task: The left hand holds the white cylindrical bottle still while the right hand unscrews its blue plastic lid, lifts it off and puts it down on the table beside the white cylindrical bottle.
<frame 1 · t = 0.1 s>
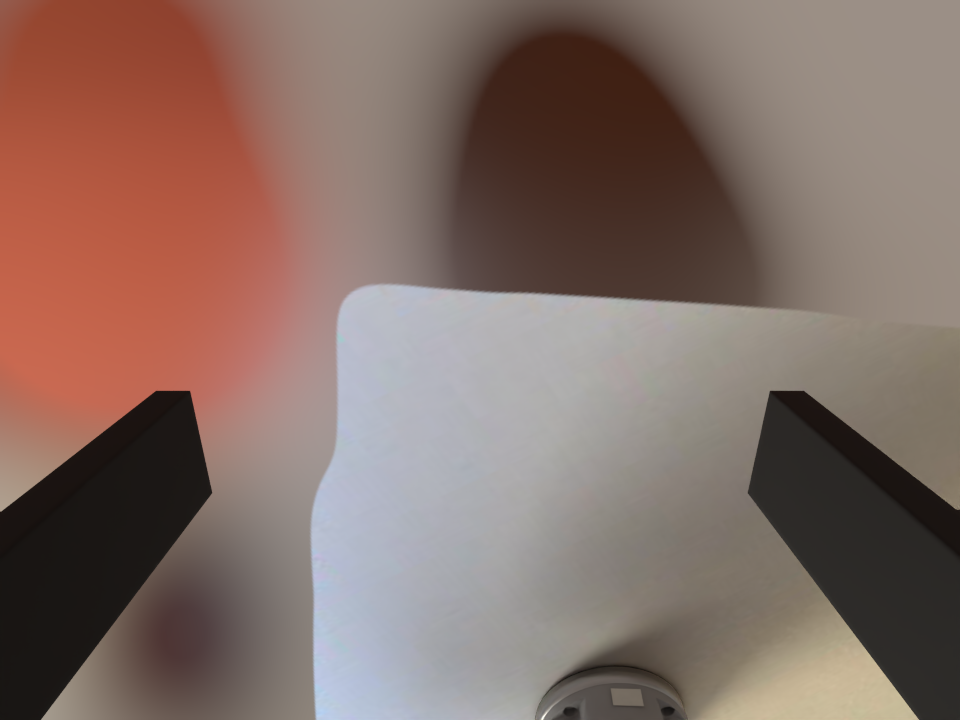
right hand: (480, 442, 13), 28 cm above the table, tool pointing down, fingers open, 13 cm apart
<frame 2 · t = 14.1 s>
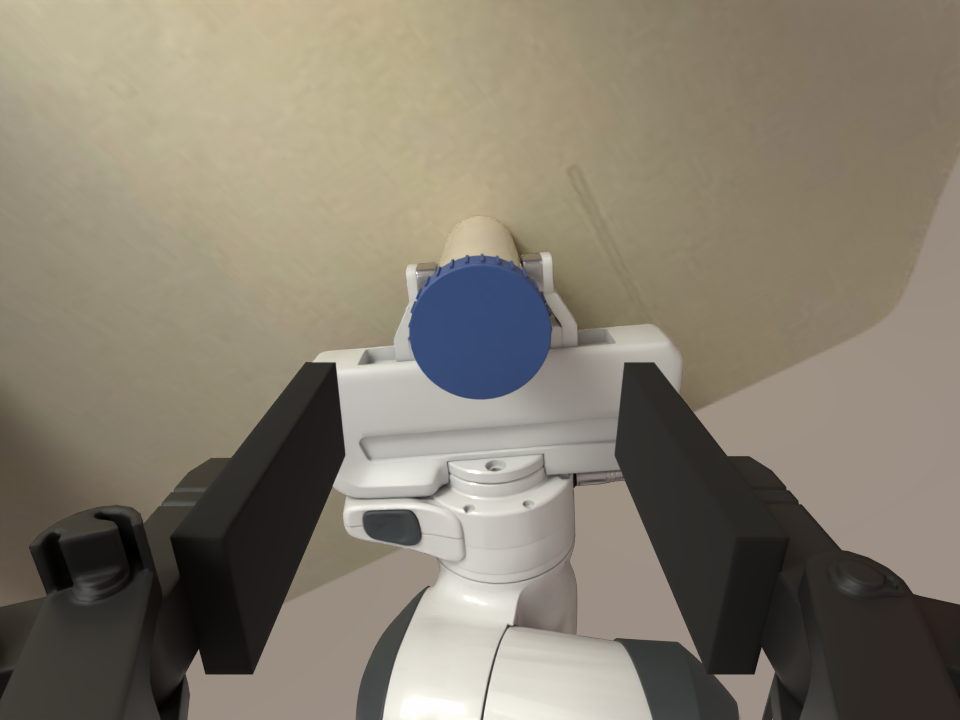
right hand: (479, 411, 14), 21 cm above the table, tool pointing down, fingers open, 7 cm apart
left hand: (477, 259, 28), fingers closed on white cylindrical bottle, 4 cm apart
white cylindrical bottle: (479, 252, 34), on the table, touching left hand
lid: (480, 332, 20), point 15 cm above the table, screwed on, not yet turned
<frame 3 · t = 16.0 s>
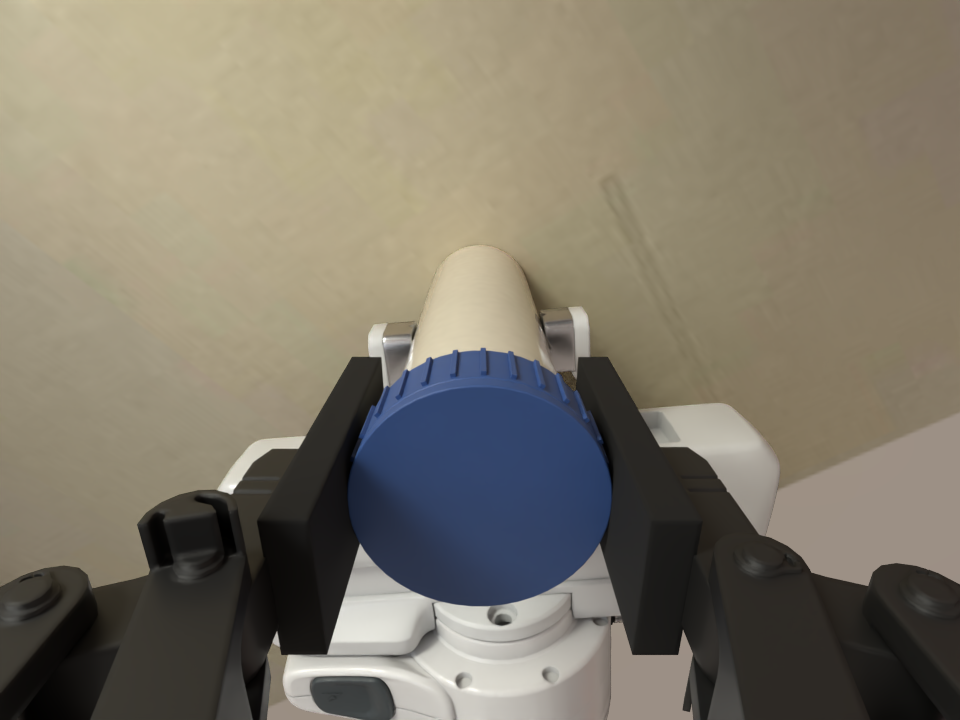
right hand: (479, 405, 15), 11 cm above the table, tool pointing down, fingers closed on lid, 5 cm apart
left hand: (476, 319, 18), fingers closed on white cylindrical bottle, 4 cm apart
white cylindrical bottle: (479, 293, 25), on the table, touching left hand
lid: (479, 495, 11), point 15 cm above the table, screwed on, not yet turned, touching right hand
when the right hand's fingers open (11 cm above the table, at t = 17.4 s): lid stays where it is, point 15 cm above the table.
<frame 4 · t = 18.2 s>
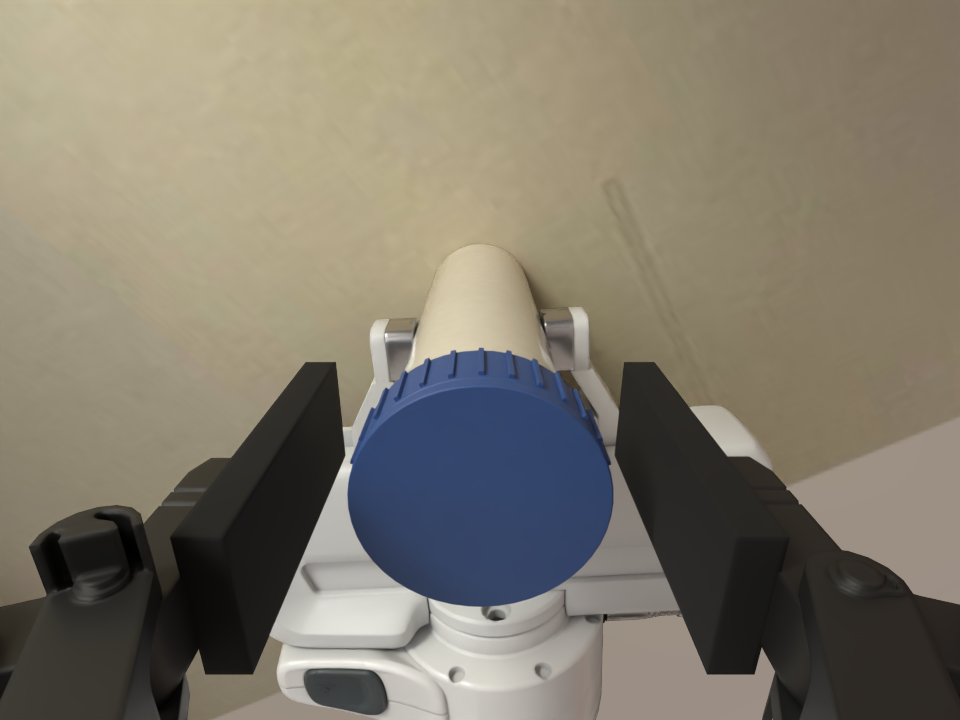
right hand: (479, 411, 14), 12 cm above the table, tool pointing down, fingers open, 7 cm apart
white cylindrical bottle: (480, 292, 25), on the table, touching left hand
lid: (480, 495, 11), point 15 cm above the table, turned 89° so far, risen 0.2 cm, still on its thread
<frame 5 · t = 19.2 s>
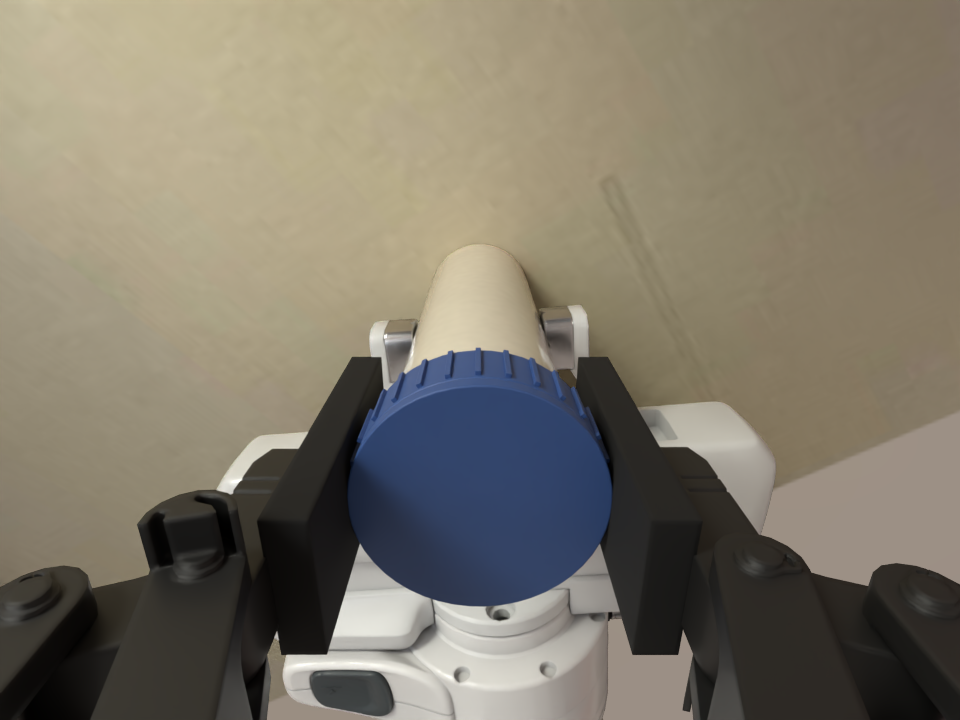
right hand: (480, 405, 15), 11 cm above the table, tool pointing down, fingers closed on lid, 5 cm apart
left hand: (476, 317, 19), fingers closed on white cylindrical bottle, 4 cm apart
white cylindrical bottle: (479, 292, 25), on the table, touching left hand
lid: (479, 495, 11), point 15 cm above the table, turned 89° so far, risen 0.2 cm, still on its thread, touching right hand
when the right hand's fingers open (0 cm above the table, at t = 26.1 s): lid drops 1 cm, point 1 cm above the table.
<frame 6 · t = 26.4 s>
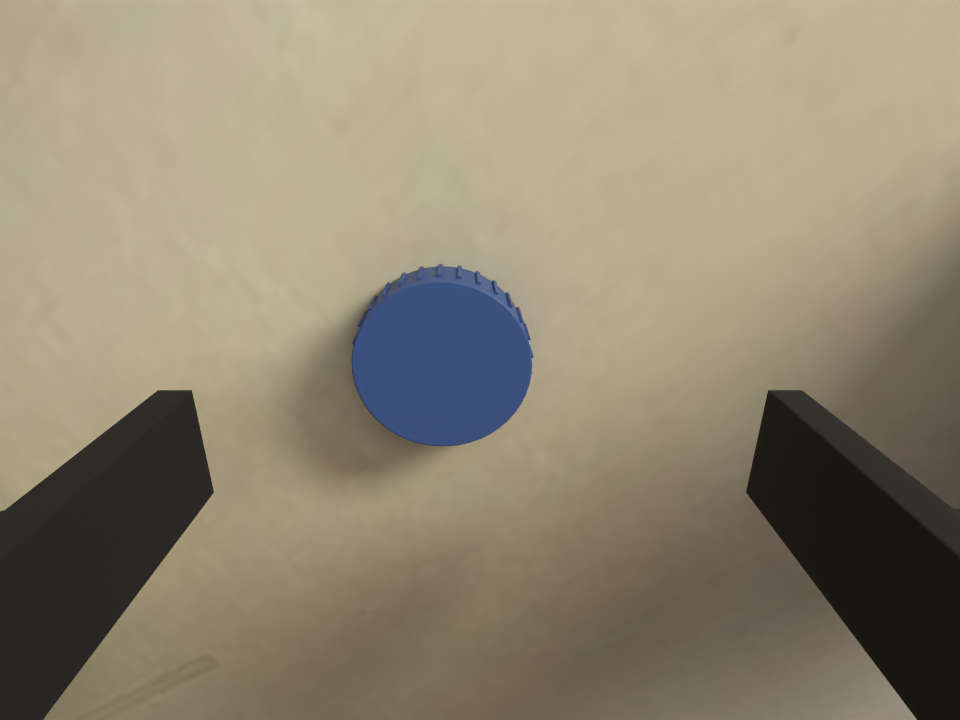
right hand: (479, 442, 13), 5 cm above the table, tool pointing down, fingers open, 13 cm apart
lid: (442, 364, 16), point 1 cm above the table, off its thread
when the left hand's fingers open (7 cm above the table, at t = 26.7 s): white cylindrical bottle stays where it is, on the table.
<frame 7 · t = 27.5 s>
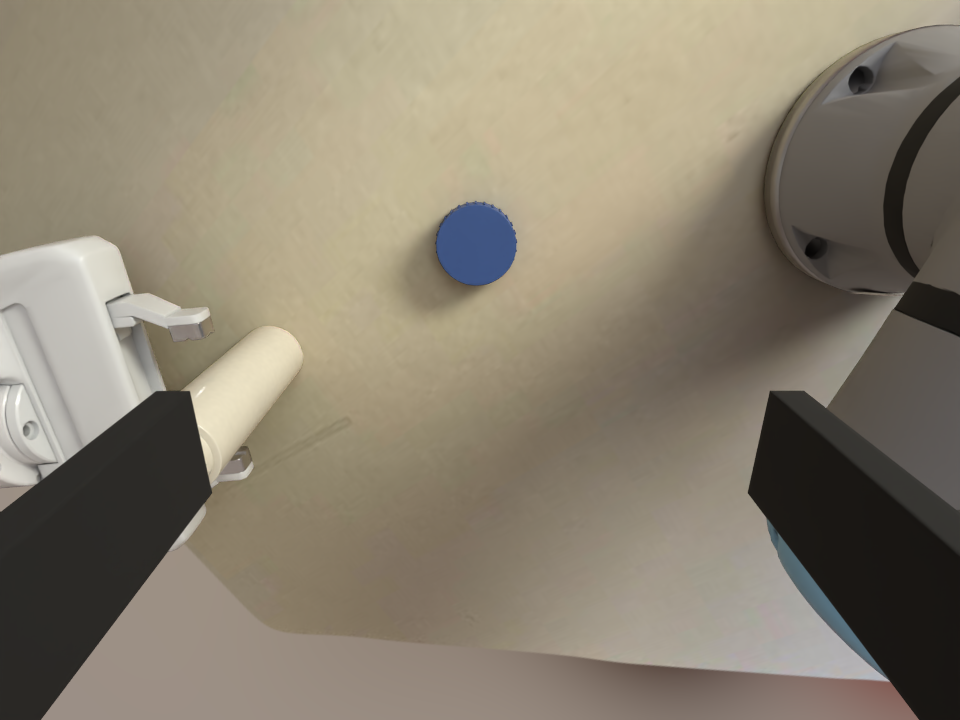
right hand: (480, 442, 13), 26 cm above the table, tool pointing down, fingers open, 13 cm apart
left hand: (229, 396, 33), fingers open, 8 cm apart
white cylindrical bottle: (272, 354, 40), on the table
lid: (476, 245, 35), point 1 cm above the table, off its thread
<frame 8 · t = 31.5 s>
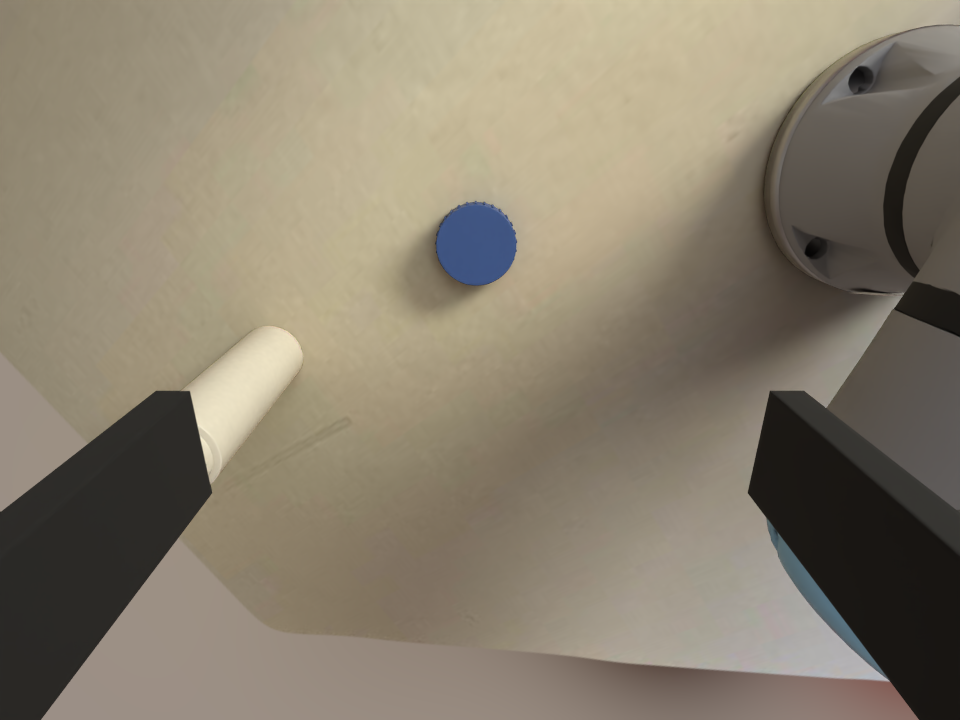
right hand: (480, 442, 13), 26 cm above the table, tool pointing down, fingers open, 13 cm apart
white cylindrical bottle: (272, 354, 40), on the table
lid: (476, 245, 35), point 1 cm above the table, off its thread
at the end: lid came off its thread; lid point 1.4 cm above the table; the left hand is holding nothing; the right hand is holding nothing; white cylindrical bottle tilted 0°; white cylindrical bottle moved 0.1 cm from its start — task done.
